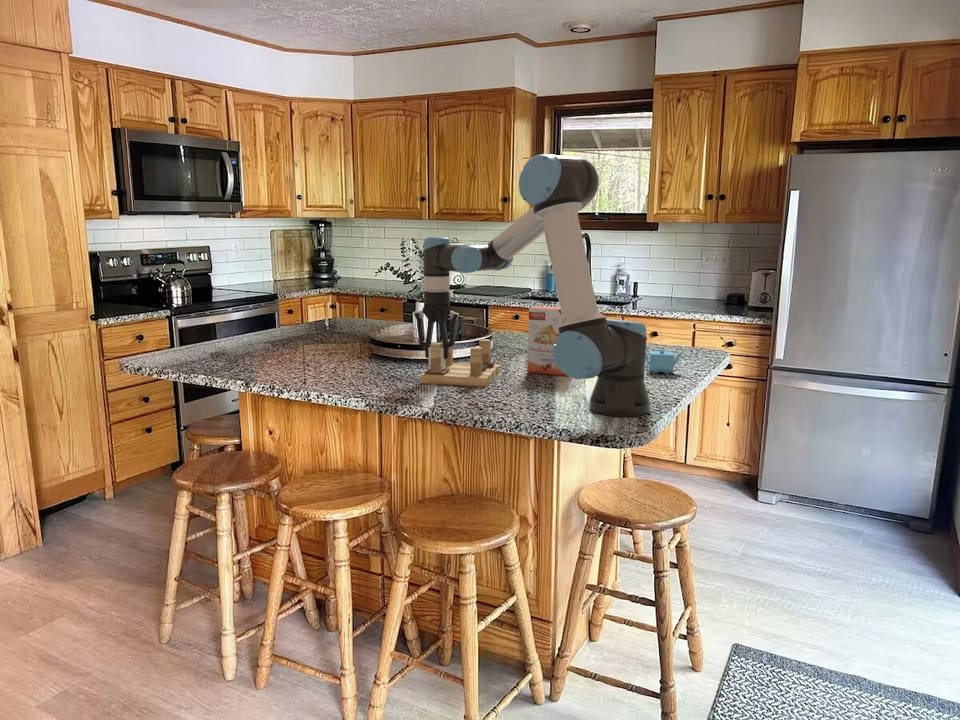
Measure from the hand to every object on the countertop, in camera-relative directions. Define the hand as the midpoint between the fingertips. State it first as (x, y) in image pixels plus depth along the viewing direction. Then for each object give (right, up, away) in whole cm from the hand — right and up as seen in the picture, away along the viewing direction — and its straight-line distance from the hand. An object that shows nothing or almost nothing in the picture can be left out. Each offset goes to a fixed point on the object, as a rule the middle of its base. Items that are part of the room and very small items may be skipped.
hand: (437, 368), depth 213 cm
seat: (+7, -3, +5) cm, 9 cm away
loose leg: (0, 0, 0) cm, 0 cm away
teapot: (+71, -2, +14) cm, 73 cm away
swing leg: (+13, 0, +6) cm, 15 cm away
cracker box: (+35, -2, +13) cm, 37 cm away
